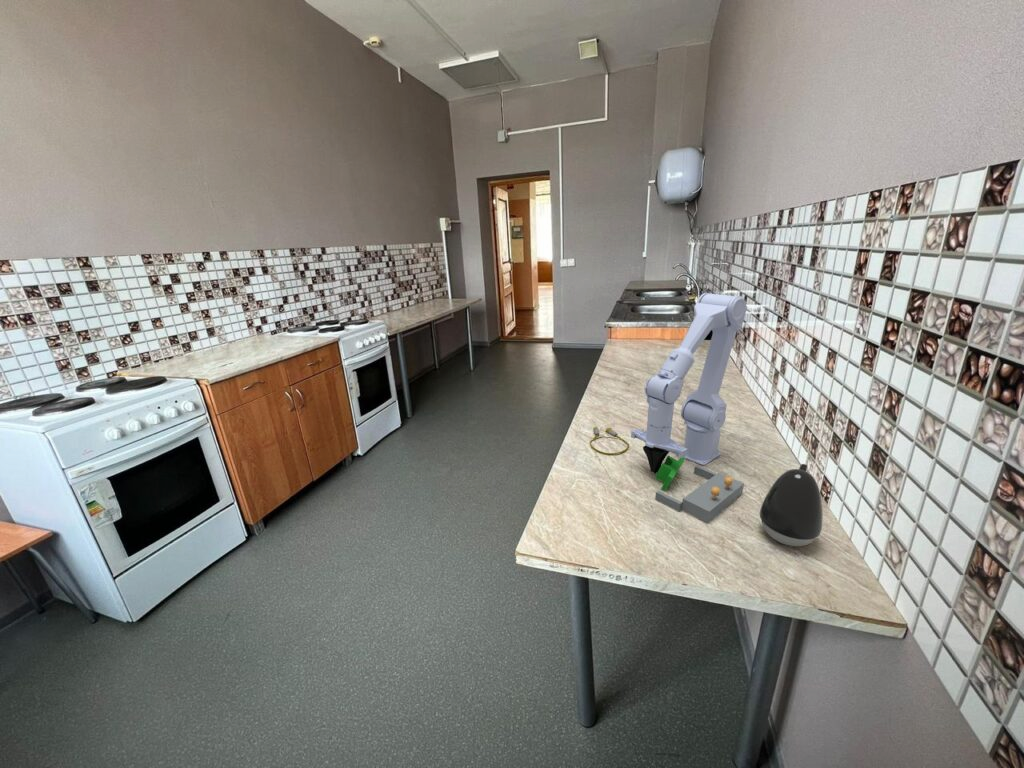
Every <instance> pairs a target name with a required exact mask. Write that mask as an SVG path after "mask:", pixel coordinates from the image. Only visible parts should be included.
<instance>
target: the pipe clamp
mask: <svg viewBox="0 0 1024 768" xmlns="http://www.w3.org/2000/svg"><path fill="white" fill-rule="evenodd" d="M685 460H686V458H684V457H683V458H680V457H679V458H678V460H677V459H675V458H674V457H672V456H670V455H669V454H667V456H666V457H665V459H664V461H663V462H662V465H661V467H660V469H659V470H658V472H657V473H655V476H654V478H655V479H656V480H658V481H660V482H662V485H661V487H660V490H661V491H662V492H666V491H667V489H668V488H669V487H670V484H671V483H672V481H673V479H674V478H675V477H676V475H677V473H678V471H680V468H681V467H682V465H683V463H684V462H685Z"/></svg>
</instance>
